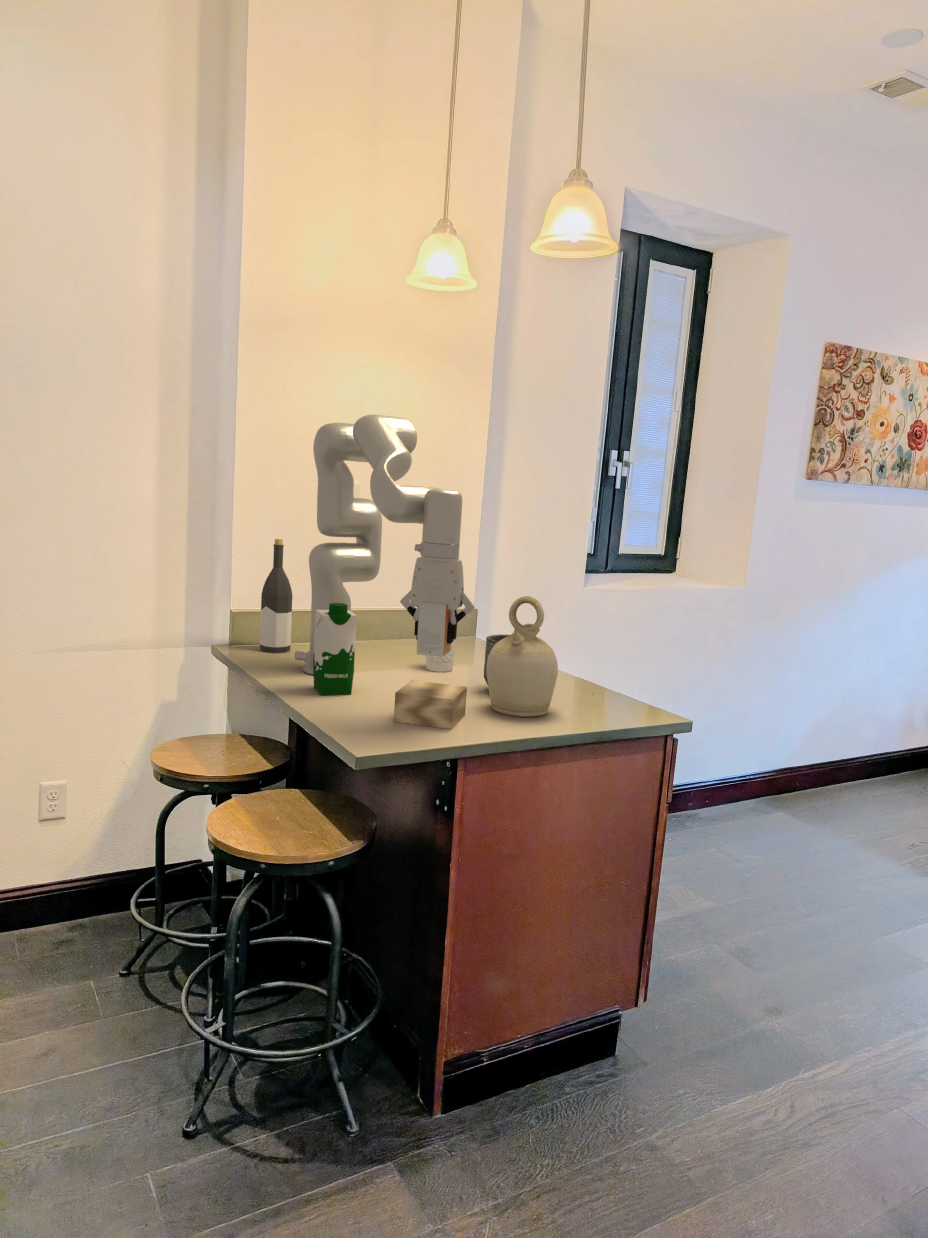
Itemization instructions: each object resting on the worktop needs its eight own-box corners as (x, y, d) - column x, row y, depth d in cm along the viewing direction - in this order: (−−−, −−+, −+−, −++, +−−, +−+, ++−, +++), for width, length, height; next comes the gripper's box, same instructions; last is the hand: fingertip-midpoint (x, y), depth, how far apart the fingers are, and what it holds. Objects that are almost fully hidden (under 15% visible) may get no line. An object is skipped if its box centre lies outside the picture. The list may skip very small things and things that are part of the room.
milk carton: (317, 696, 192) (320, 605, 189) (308, 686, 200) (312, 599, 197) (356, 695, 195) (360, 606, 192) (346, 685, 204) (350, 600, 201)
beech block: (393, 721, 176) (395, 692, 175) (410, 707, 188) (412, 680, 187) (451, 729, 174) (453, 699, 173) (465, 714, 185) (467, 686, 184)
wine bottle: (296, 650, 239) (300, 540, 235) (275, 654, 232) (279, 540, 228) (274, 645, 243) (278, 537, 239) (253, 649, 237) (256, 537, 232)
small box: (443, 657, 174) (446, 605, 173) (415, 654, 175) (418, 602, 174) (451, 650, 182) (455, 600, 180) (425, 647, 183) (428, 597, 181)
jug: (511, 697, 203) (519, 589, 199) (567, 711, 193) (577, 599, 189) (469, 708, 191) (477, 593, 187) (527, 724, 181) (537, 603, 177)
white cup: (418, 670, 225) (420, 631, 224) (431, 664, 232) (433, 627, 231) (447, 674, 222) (449, 635, 221) (458, 668, 230) (461, 631, 228)
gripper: (393, 549, 174) (388, 639, 177) (478, 556, 170) (472, 648, 173) (404, 547, 181) (399, 634, 184) (486, 554, 177) (480, 642, 180)
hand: (435, 640), depth 178 cm, fingers closed on small box, 5 cm apart
